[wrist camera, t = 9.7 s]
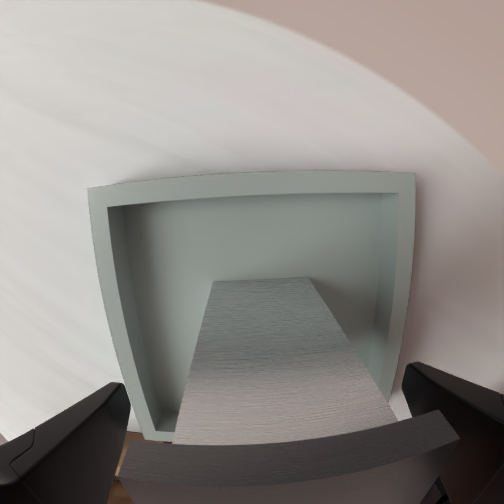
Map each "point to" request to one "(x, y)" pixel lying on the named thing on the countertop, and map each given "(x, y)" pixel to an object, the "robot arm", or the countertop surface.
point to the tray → (248, 265)
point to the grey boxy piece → (284, 414)
